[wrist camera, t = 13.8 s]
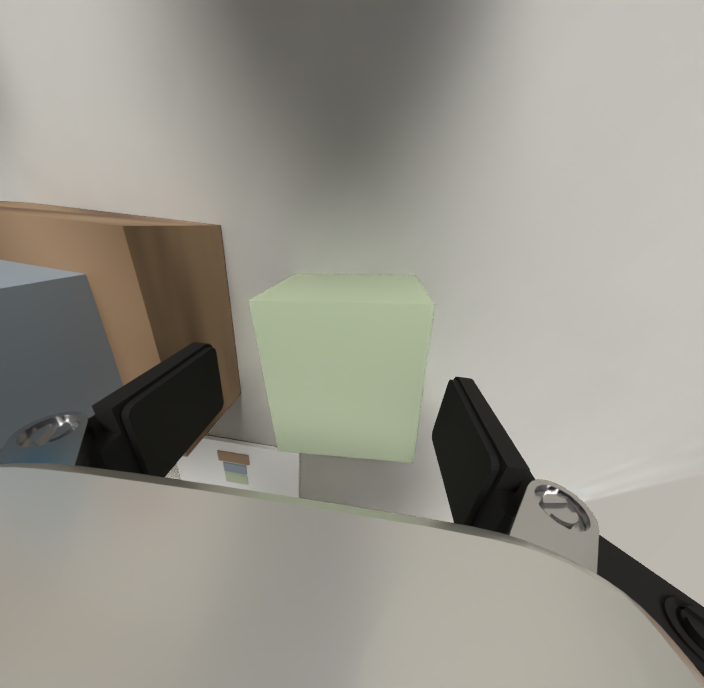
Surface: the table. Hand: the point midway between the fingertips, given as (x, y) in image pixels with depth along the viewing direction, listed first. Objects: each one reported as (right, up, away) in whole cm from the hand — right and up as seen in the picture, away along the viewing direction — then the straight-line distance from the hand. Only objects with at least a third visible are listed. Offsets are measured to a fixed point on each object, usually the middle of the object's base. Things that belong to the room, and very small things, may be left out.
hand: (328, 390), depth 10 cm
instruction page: (-8, -8, +10) cm, 15 cm away
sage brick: (+1, +2, +4) cm, 5 cm away
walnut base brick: (-11, +4, +4) cm, 12 cm away
